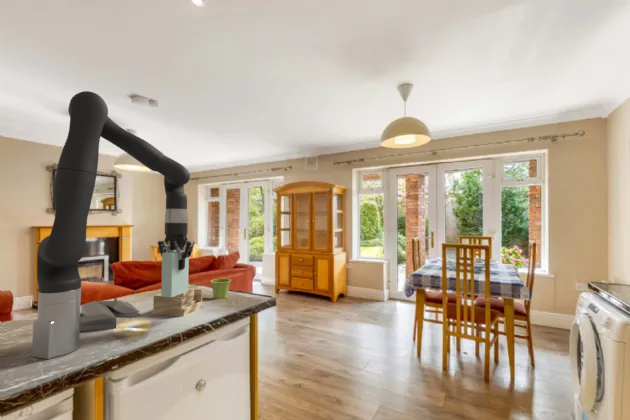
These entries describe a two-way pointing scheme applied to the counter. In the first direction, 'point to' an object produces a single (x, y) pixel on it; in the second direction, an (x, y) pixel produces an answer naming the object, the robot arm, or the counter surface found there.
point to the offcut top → (186, 294)
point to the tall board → (173, 275)
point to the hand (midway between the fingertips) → (175, 269)
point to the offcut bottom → (189, 304)
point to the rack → (175, 305)
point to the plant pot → (220, 288)
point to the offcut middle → (188, 300)
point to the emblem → (104, 314)
